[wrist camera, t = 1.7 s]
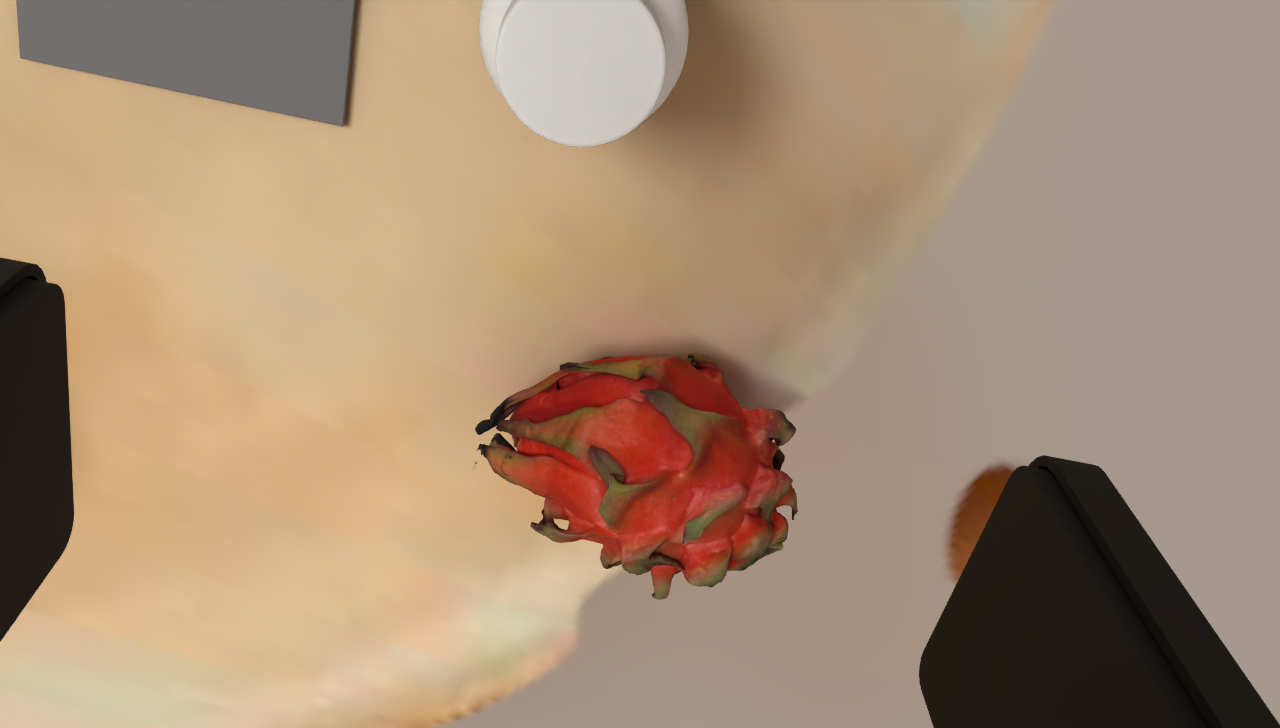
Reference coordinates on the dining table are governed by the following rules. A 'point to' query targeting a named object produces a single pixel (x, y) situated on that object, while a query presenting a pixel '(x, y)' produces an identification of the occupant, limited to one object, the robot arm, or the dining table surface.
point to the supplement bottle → (584, 63)
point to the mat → (205, 48)
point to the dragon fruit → (649, 465)
